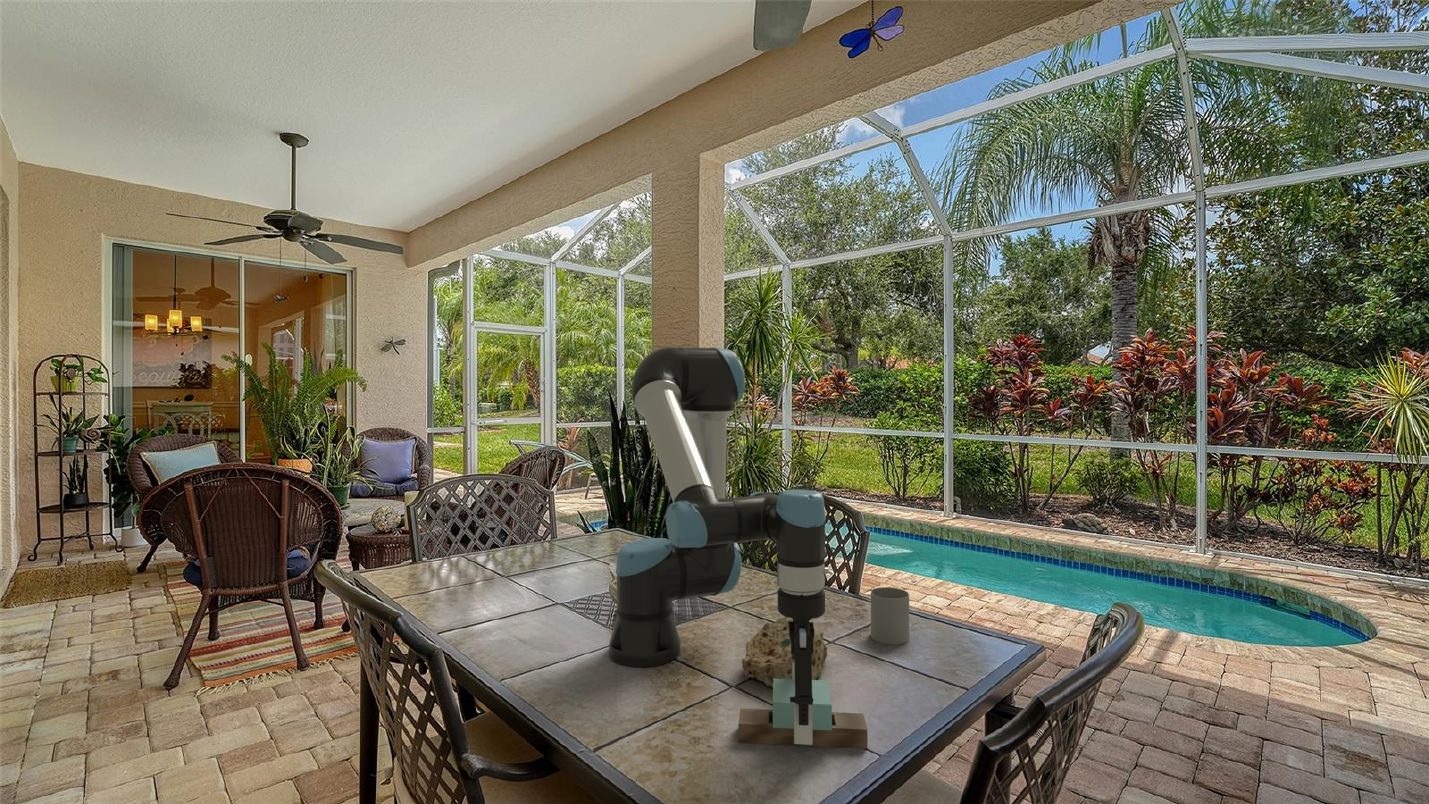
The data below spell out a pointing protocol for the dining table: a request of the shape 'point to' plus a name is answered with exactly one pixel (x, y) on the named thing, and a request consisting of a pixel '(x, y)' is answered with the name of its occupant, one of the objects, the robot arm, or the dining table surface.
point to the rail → (760, 730)
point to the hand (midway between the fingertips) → (801, 720)
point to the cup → (890, 615)
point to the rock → (778, 653)
